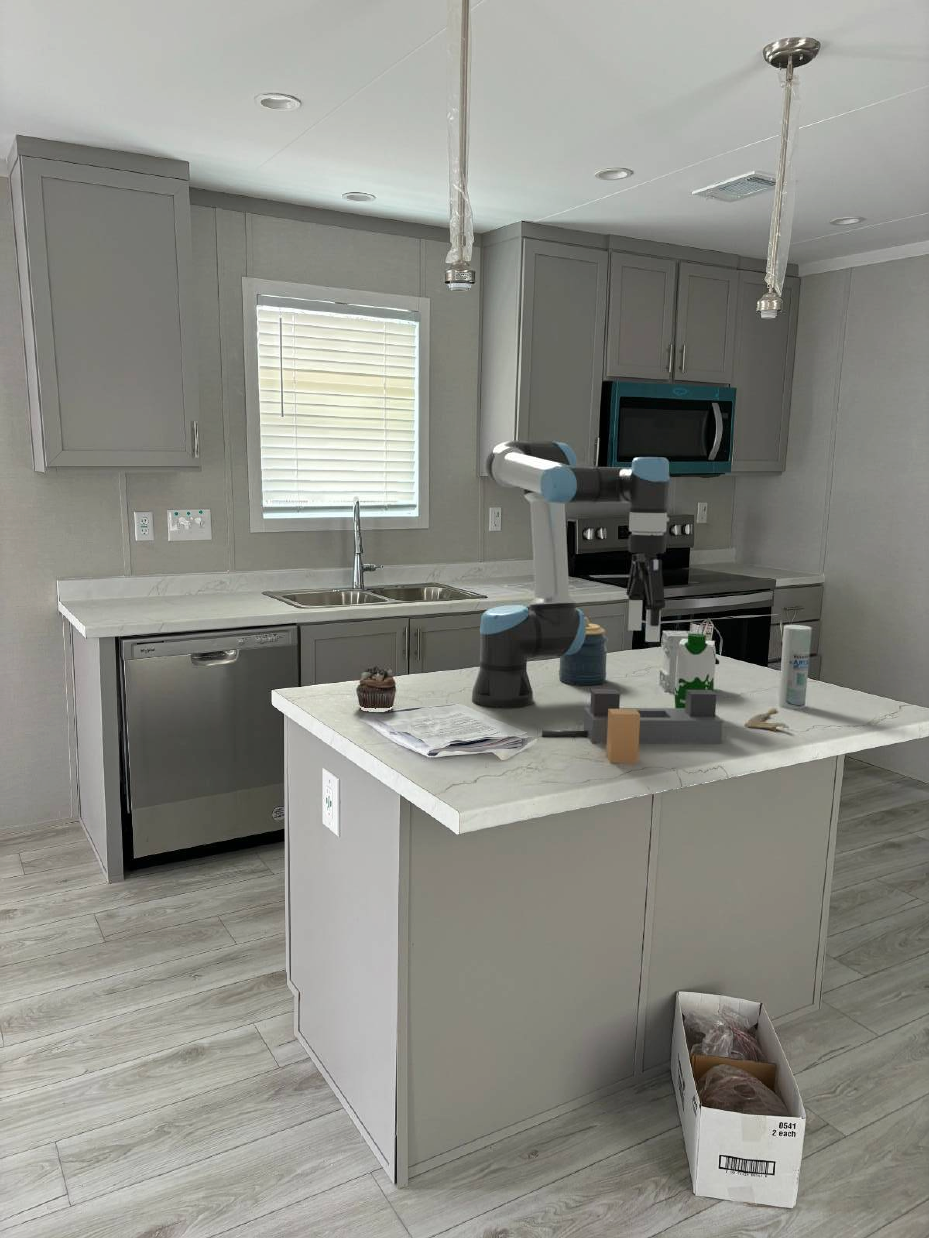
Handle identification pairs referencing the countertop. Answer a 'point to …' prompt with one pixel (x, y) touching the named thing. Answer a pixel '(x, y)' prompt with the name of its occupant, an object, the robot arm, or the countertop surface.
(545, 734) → the power strip
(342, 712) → the countertop surface
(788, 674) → the spray can
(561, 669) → the canister
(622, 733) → the plug
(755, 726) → the jawbone
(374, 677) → the cupcake
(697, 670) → the milk carton
